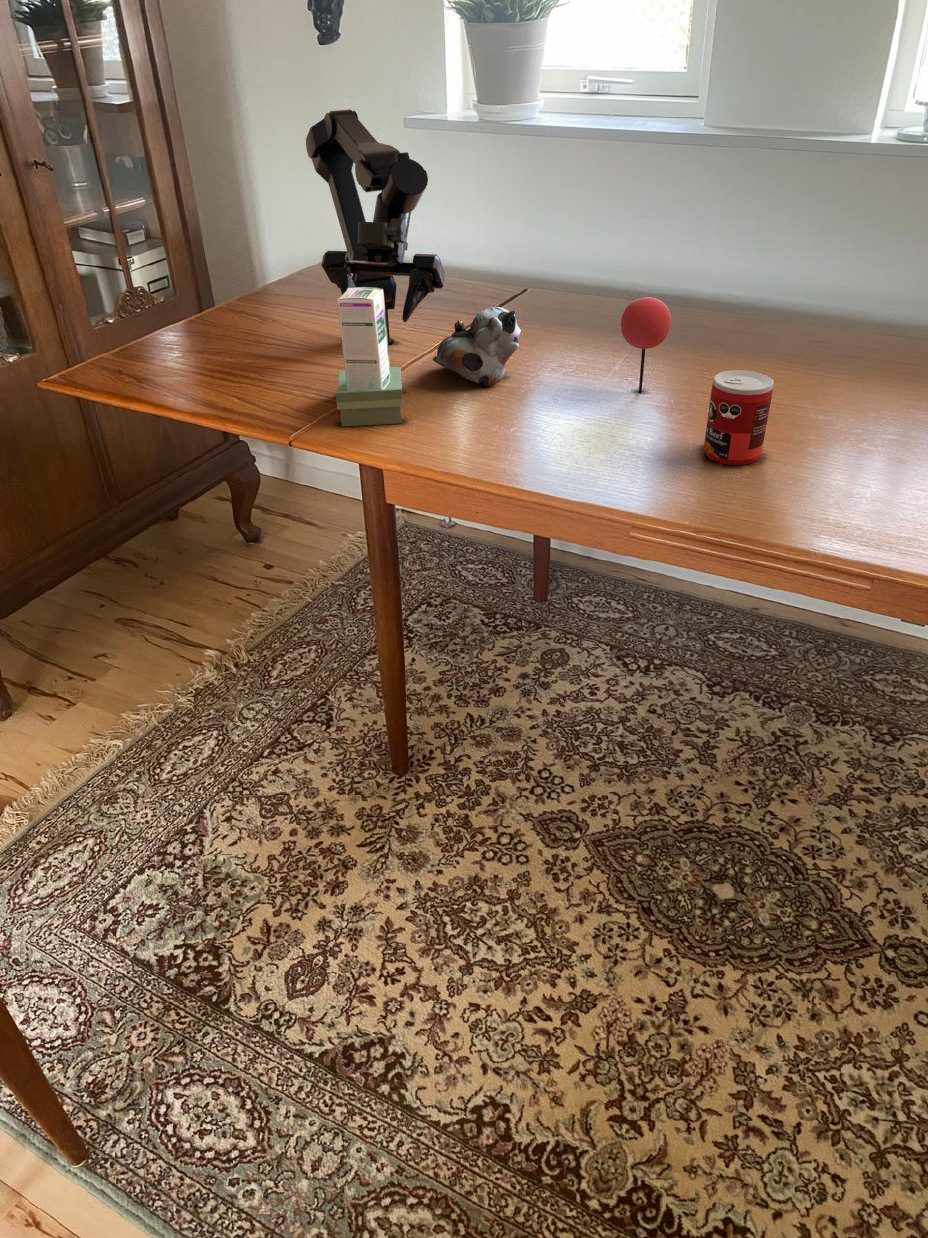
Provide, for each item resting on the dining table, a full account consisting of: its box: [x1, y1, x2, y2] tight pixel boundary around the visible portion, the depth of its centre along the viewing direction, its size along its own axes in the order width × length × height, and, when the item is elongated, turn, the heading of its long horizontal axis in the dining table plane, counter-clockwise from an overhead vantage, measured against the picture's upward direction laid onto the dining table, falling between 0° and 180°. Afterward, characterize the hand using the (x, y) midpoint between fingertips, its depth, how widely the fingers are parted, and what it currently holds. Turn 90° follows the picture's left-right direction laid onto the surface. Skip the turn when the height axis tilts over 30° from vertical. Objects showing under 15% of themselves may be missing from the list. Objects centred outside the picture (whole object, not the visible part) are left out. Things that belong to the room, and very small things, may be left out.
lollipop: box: [620, 296, 672, 393], centre depth 147 cm, size 8×8×15 cm
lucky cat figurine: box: [432, 306, 522, 387], centre depth 155 cm, size 15×12×14 cm
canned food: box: [703, 369, 775, 466], centre depth 128 cm, size 8×8×11 cm
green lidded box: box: [335, 366, 404, 427], centre depth 146 cm, size 10×14×6 cm
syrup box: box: [336, 287, 391, 391], centre depth 140 cm, size 6×6×14 cm
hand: (375, 319), depth 144 cm, fingers open, 9 cm apart
